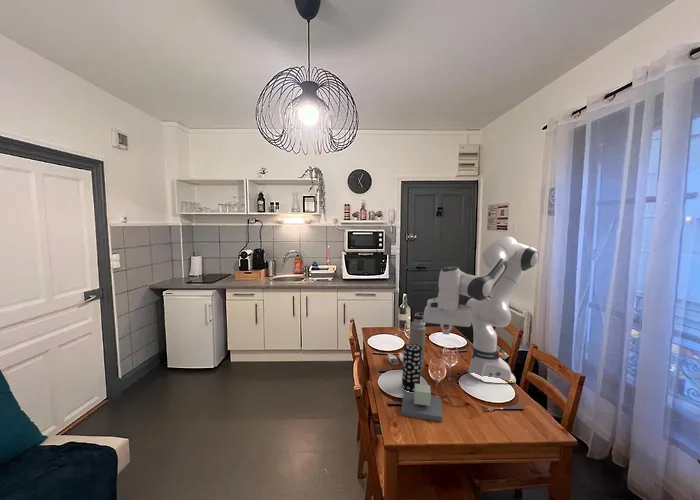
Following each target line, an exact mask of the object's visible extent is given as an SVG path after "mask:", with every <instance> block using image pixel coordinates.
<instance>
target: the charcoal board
mask: <svg viewBox="0 0 700 500" xmlns="http://www.w3.org/2000/svg"><path fill="white" fill-rule="evenodd" d="M441 398H442V397H439V396H438V397H437V396H432V395H431V401H430V406H426V405H424V406H419V404H414V393H409V392H406V391H404V392H403V393H402V402H401V412H400V414H401V416H404V417H405V416H406V417H412V418H417V419H423V420H429V421H435V422H440V423H442V422H443V411H442V410H443V409H442V400H441Z"/></svg>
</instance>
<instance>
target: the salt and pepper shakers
mask: <svg viewBox="0 0 700 500" xmlns="http://www.w3.org/2000/svg"><path fill="white" fill-rule="evenodd" d="M403 354H404V353H403V352H399V353H398V356H399V357H398V358H399V359H400V361H401V363H403ZM387 357H388V361H389V362H390V364H391V365H392V366H394V365H395V366H396V365H400V363H399V359H398V358H397V357H396V356H395V355H394V354H392V353H388V354H387Z"/></svg>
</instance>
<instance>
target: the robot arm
mask: <svg viewBox="0 0 700 500" xmlns="http://www.w3.org/2000/svg"><path fill="white" fill-rule="evenodd" d="M539 256H540V253H539V251H538V249H537V248H535V247H532V246H530V245H529V246H528V245H526V244H523V243H520V242H517V240H516V239H515V238H514V237H512V236H511V235H510V236H509V235H505V236H501V237H499V238H497V239H496V240H495V241H493V242H492V243H490V244H489V245H488V246H486V247H485V249H484V250H483V252H482V255H481V259H482V262H483V263H484V266H486V268H488V270H487V272H486V273H485V274H484V275H473V274H469V273H466V272H464V271H462V270H460V268H459V267H458V266H453V265H451V266H450V265H449V266H448V265H447V266H445V267H443V268H441V270H440V272H439V276H438V293H437V297H433V298H429V299H428V300H427V301H426V306H425V307H424V311H423V316H422V317H423V322H424V324H425V323H427V324H437V325H440V328H441V331H442V335H450V332H451V331H452V329H453V326H456V327H465V328H469V327H471V326H472V330H473V342H472V343H473V345H471V346H472V347H471V352H470V353H471V355H470V356H471V359H470V364H469V367H468V369H467V372H468V374H469V373H475V374H478V375H480V376H482V377H483V376H488V377H495V378H500V379H504V380H508V381H510V382H511V381H512V382H513V381H514V382H515V384H516V381H517V379H516V376H515V375H514V373H512V371H511V370H512V369H511V367H510V365H509V364H508V363H507V361H505V360H503V357H504V356H503V353H501V351H499V350H498V349H497V343H498V334H497V333H496V331H495V329H494V328H493V327H497V328H505V327H507V326H509V324H510V323H511V321H512V313H511V311H510V300H511V297H512V295H513V294H514V292H515V290H516V289H517V287H518V285H519V283H520V282H521V280H522V277H523V275H524V272H525V271H528V270H530V269H532V268H533V267H534V266H535V265H536V264H537V263H538V261H539ZM460 295H461V296H465V297H468V298H469V299H468V300H467V302H466V304H460V303H459V300H460ZM489 297H490V298H489ZM488 298H489V300H487V299H488ZM446 325H447V326H448V328H447V329H445V328H444V326H446ZM514 382H513V383H514Z"/></svg>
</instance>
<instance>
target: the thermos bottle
mask: <svg viewBox="0 0 700 500" xmlns="http://www.w3.org/2000/svg"><path fill="white" fill-rule="evenodd" d="M423 317H424V316H423V315H422V316H421V315H414V316H413V321H412V322H411V325H410V327H409V328H410V329H409V343H408V344H416V345H419V346H421V347H422V358H421V371H422V370H424V365H425V364H424V362H425V361H424V360H425V343H426V330H427V329H426V325H425V322H424V320H423Z"/></svg>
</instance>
